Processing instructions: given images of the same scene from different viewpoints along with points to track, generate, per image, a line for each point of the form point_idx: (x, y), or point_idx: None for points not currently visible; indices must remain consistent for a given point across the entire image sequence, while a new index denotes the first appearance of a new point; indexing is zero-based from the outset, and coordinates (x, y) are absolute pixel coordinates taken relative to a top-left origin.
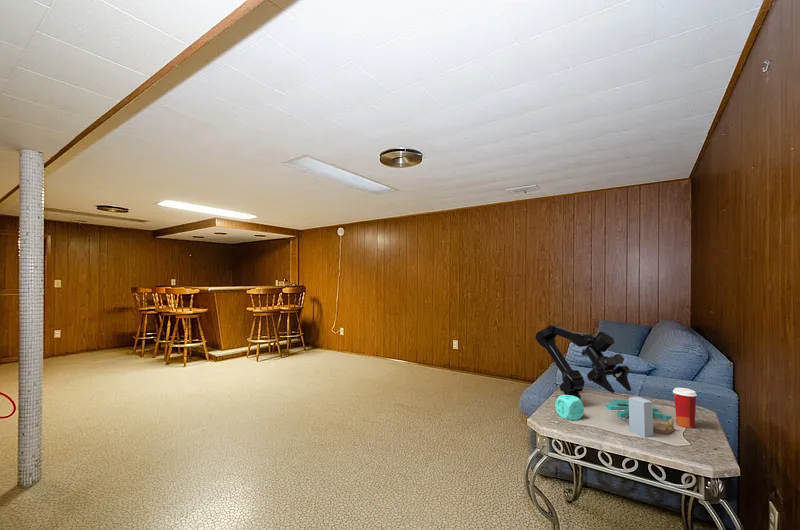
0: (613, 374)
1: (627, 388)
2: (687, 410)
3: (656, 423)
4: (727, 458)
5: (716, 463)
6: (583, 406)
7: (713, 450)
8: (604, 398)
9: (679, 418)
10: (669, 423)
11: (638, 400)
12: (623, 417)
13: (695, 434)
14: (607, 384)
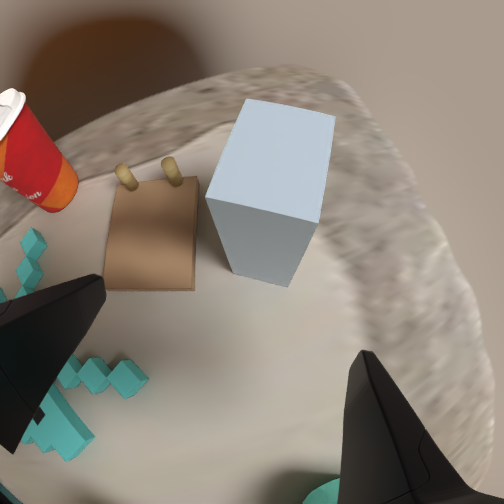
0: (15, 498)
1: (88, 311)
2: (50, 140)
3: (126, 234)
4: (254, 69)
5: (310, 74)
6: (335, 501)
7: (225, 89)
8: (9, 464)
9: (60, 184)
10: (130, 182)
11: (317, 150)
12: (137, 370)
13: (122, 145)
14: (418, 435)
